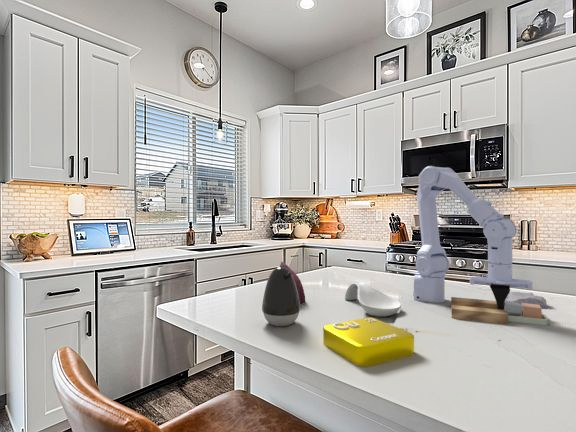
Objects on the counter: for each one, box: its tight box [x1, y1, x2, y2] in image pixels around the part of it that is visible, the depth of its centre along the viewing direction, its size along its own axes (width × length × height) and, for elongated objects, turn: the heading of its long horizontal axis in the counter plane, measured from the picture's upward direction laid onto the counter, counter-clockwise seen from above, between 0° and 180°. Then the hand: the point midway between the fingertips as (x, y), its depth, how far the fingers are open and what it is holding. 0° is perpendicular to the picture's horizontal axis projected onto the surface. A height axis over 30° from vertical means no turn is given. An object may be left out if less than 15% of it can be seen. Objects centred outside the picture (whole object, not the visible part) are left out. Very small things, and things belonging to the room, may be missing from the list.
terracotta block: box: [521, 303, 543, 319], centre depth 93 cm, size 4×4×4 cm
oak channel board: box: [450, 296, 509, 325], centre depth 98 cm, size 13×14×4 cm
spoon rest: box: [344, 281, 402, 318], centre depth 107 cm, size 24×12×7 cm, turn 19°
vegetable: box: [279, 261, 306, 305], centre depth 115 cm, size 10×10×15 cm
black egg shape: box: [261, 266, 301, 327], centre depth 93 cm, size 10×10×15 cm
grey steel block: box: [502, 300, 522, 317], centre depth 94 cm, size 4×4×4 cm
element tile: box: [322, 317, 415, 368], centre depth 76 cm, size 15×15×5 cm
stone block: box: [505, 291, 548, 309], centre depth 110 cm, size 12×5×10 cm
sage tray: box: [508, 311, 551, 327], centre depth 93 cm, size 9×8×2 cm
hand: (499, 312), depth 95 cm, fingers closed, pressing on grey steel block
